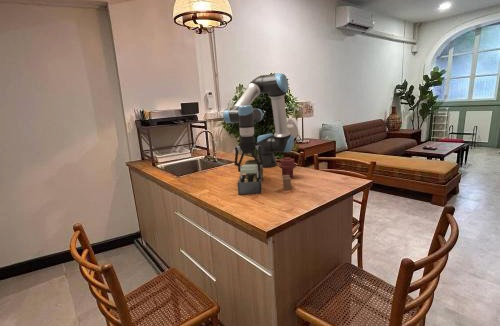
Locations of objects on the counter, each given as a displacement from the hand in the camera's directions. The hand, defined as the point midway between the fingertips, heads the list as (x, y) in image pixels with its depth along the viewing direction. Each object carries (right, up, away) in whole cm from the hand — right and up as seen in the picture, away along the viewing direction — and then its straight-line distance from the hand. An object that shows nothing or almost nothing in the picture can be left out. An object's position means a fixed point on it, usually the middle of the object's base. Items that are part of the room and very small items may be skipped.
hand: (249, 177), depth 147 cm
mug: (+4, -3, +21) cm, 22 cm away
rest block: (+21, -6, +1) cm, 21 cm away
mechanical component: (+24, -1, +21) cm, 31 cm away
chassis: (+1, -7, +2) cm, 7 cm away
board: (0, +4, -1) cm, 4 cm away
